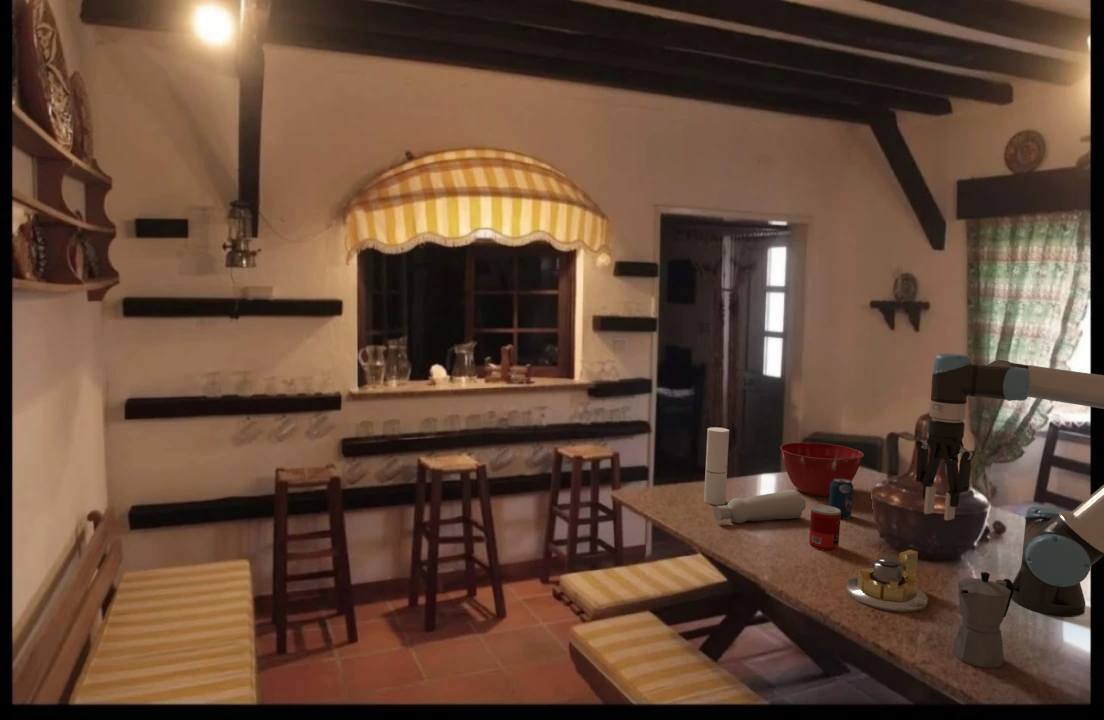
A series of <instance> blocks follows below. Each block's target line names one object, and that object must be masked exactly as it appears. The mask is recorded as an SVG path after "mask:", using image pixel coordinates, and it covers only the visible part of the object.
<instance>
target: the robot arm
mask: <svg viewBox="0 0 1104 720" xmlns="http://www.w3.org/2000/svg"><path fill="white" fill-rule="evenodd" d="M932 367H933V368H932V375H931V377H932V378H931V389H930V390H931V393H930V403H929V405H930V406H929V417H931V418H930V419H929V420H928V427H927V433H928V437H927V438H926V439H925V440H917V441H916V442H915V444H916V445H915V446H916V449H917V458H916V470H915V471H916V473H915V480H916V482H918V483H921V484H922V487H923V488H922V499H924V506H923V507H924V508H923V509H924V510H923V513H924V514H925V515H929V514H933V513H935V506H936V505H935V504H936V503H935V502H936V494H937V493H936V492H937V490H936V489H937V486H936V485H935V484H936V483H935V482H934V481H935V479H936V476H937V473H938V469H939V467H940V463H941V461H942V460H944V465H945V466H946V474H947V479H948V481H947V482H948V487H949V490H947V492H945V503H944V504H945V505H944V514H943V520H945V521H950V520H955V514H956V513H955V512H956V507H958V506H959V505H960V504H959V503H960V494H961V493H967V492H968V491H969V489H970V478H971V470H972V469H971V468H972V461H973V458H974V457H975V453H976V452H975V451H974V450H968V449H967V448H965V446H964V444H963V439H964V435H965V428H966V427H965V422H964V420H966V414H967V413H966V412H967V402H968V400H967V399H968V397H972V398H985V399H986V398H987V399H994V400H995V399H997V400H1005V401H1008V402H1011V401H1017V402H1018V401H1020V402H1023V401H1026V400H1027V399H1028V398H1033V399H1040V400H1046V401H1053V402H1060V403H1065V404H1070V405H1077V406H1085V407H1090V408H1097V409H1102V410H1104V375H1103V374H1096V373H1088V372H1080V371H1076V370H1075V371H1074V370H1066V369H1061V368H1060V369H1059V368H1051V367H1046V366H1037V365H1031V364H1022V363H1016V362H1015V363H1014V362H1011V361H1008V360H1002V359H1001V360H1000V359H999V360H994V361H991V362H990V363H989V364H978V363H977V364H975V363H972V361H971V357H970V356H969V355H967V354H960V353H947V352H946V353H939V354H937V355H936V356H935V357H934V362H933V366H932ZM929 449H930V451H929ZM929 452H930V453H929ZM959 458H960V460H959ZM958 464H959V465H958ZM1024 519H1025V521H1024V522H1025V524H1024V533H1023V544H1022V554H1021V562H1020V568H1019V570H1018V571H1017V572H1016V573H1017V574H1016V575H1015V577H1014V579H1013V582H1012V583H1013V585H1014V587H1015V589H1014V593H1013V595H1012V598H1011V601H1012V600H1013V602H1015V603H1017V604H1018V605H1020V606H1022V607H1024V608H1027V609H1029V610H1032V611H1036V612H1038V613H1043V614H1048V615H1053V616H1060V617H1078V616H1080V615H1083V614H1084V613H1085V612H1086V600H1085V596H1084V592H1083V588H1082V585H1081V584H1082V583H1081V582H1083V581H1084V580H1085V579H1086V578H1087V576H1088V575H1089V573H1090V571H1091V567H1092V566H1093V565H1094V564H1096V563H1097V562H1098V561H1099V560H1100V559H1102V558H1103V557H1104V484H1103V485H1101V486H1100V487H1099V488H1098V489H1097V490H1096V491H1094V492H1093V493H1092V494H1091V495H1090V496H1089V497H1088V498H1086V499H1085V500H1084V501H1082V502H1081V503H1080V504H1079V505H1078V506H1077V507H1075V508H1074V509H1073V510H1071V511H1070V510H1065V509H1058V508H1054V507H1044V506H1031V507H1028V508H1027V509H1026V514H1025V516H1024Z"/></svg>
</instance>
